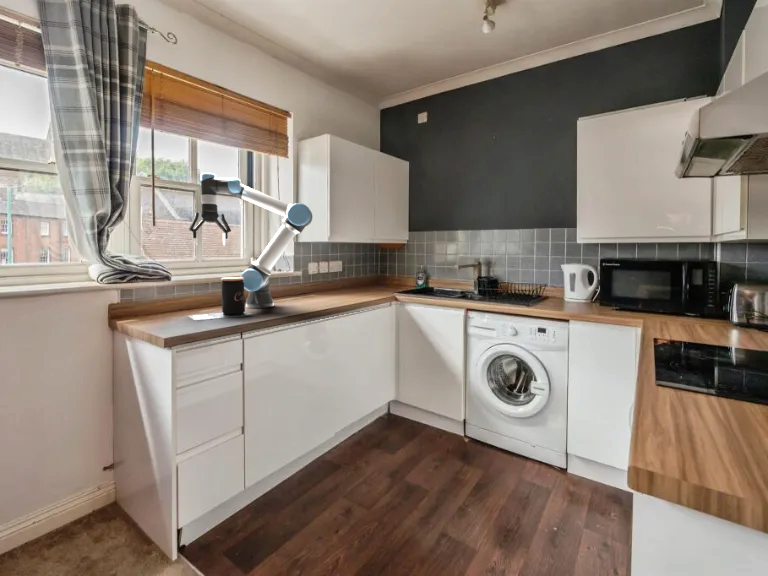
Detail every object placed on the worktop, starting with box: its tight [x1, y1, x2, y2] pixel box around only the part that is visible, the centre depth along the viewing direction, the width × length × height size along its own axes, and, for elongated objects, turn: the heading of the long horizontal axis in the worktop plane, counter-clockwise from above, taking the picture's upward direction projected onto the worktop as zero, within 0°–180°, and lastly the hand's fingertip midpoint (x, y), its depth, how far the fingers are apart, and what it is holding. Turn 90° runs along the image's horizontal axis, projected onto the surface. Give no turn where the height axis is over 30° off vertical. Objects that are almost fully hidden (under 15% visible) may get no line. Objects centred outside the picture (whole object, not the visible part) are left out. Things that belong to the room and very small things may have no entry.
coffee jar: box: [220, 276, 246, 315], centre depth 194 cm, size 11×11×18 cm
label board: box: [187, 311, 253, 322], centre depth 191 cm, size 26×16×1 cm, turn 128°
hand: (211, 245), depth 203 cm, fingers open, 13 cm apart
